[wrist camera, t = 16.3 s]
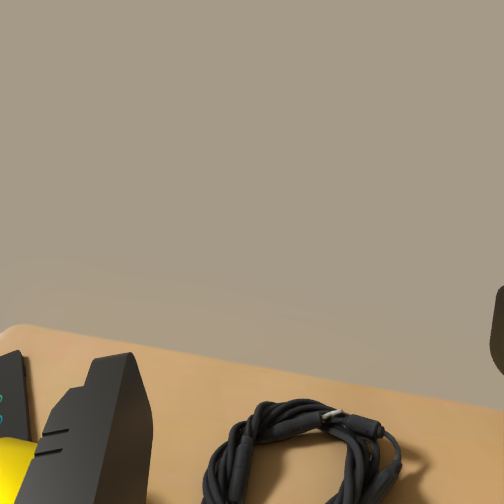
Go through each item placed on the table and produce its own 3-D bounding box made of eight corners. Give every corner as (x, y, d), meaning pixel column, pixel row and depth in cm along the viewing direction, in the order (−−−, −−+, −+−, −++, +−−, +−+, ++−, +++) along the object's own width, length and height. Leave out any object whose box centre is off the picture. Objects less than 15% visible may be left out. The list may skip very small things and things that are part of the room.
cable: (274, 661, 25) (264, 621, 24) (157, 509, 35) (143, 473, 34) (420, 469, 35) (421, 430, 33) (295, 392, 45) (291, 360, 43)
